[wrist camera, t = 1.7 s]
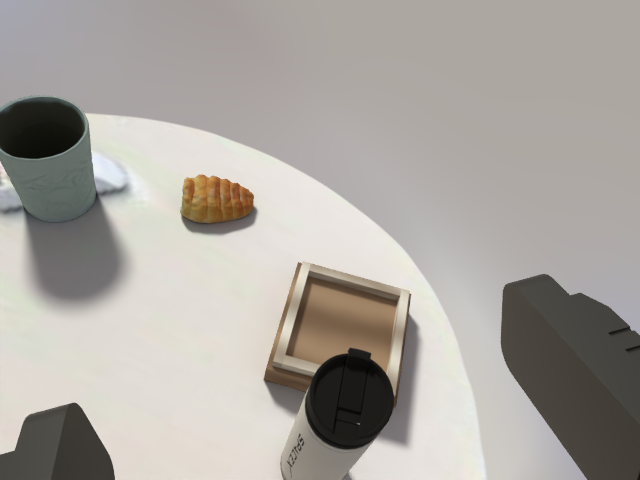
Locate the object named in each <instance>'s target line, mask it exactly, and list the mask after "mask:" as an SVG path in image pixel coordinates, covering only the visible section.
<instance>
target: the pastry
mask: <svg viewBox="0 0 640 480" xmlns="http://www.w3.org/2000/svg"><path fill="white" fill-rule="evenodd" d="M253 199H254V196H253V194H252V193H251V192H250V191H249V190H248V189H246V188H244V187H242V186H240V185H239V184H238V183H231V182H230V181H229V180H228V179H220V178H218V177H215V176H211V177H210V178H208V177H206V176H205V175H198V176H197V177H195V178H188V177H187V178H186V179H185V181H184V185H183V197H182V206H181V207H180V213H181V215H182V216H184V217H186V218H188V219H190V220H192V221H194V222H197V223H199V222H203V223H216V222H224V221H231V220H236V219H240V218H242V217H244V216H246V215H248V214H250V212H251V211H252V210H253Z"/></svg>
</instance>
